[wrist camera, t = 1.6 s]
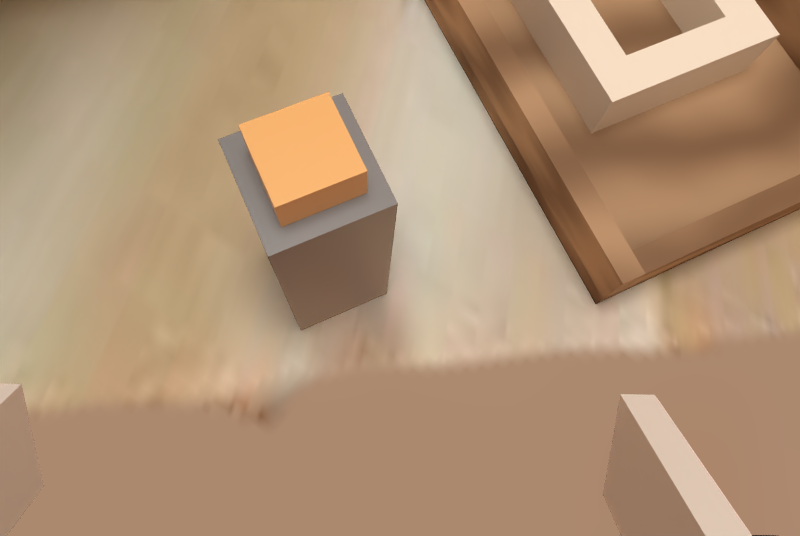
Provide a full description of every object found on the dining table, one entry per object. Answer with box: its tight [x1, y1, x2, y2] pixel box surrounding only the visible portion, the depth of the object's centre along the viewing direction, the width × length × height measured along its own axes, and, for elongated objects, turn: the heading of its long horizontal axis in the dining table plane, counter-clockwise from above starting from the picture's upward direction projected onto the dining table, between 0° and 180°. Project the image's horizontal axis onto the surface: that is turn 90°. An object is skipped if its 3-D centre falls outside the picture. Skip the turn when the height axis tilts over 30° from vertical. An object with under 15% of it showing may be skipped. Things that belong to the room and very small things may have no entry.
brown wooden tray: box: [425, 0, 800, 304], centre depth 35 cm, size 26×18×4 cm
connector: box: [218, 92, 398, 330], centre depth 25 cm, size 4×4×13 cm
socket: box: [510, 0, 780, 134], centre depth 34 cm, size 10×10×3 cm
